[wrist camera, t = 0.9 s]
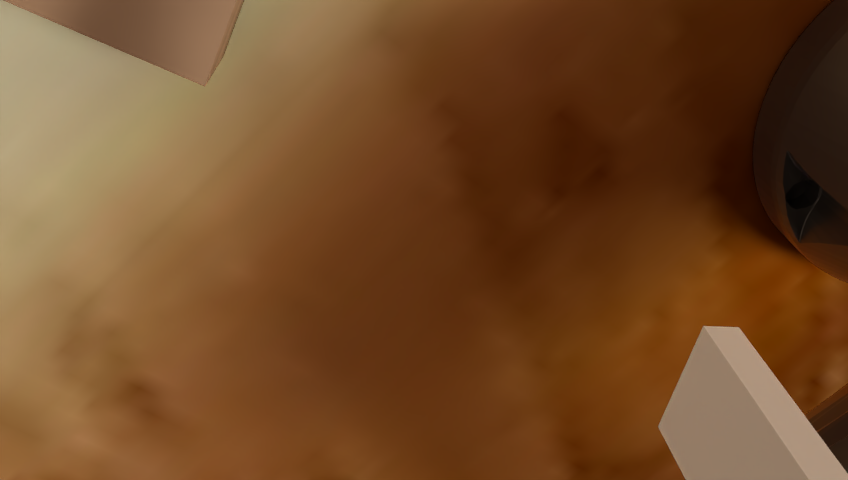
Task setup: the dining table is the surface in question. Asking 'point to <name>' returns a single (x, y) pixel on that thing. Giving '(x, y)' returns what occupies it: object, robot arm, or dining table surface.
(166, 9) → the walnut block
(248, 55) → the dining table surface
